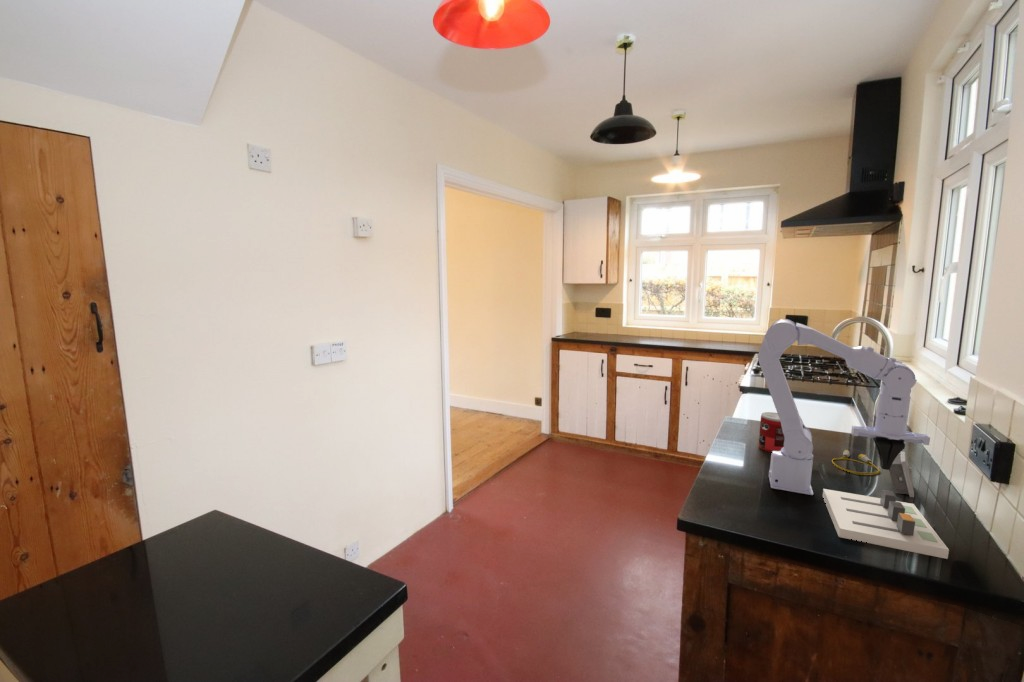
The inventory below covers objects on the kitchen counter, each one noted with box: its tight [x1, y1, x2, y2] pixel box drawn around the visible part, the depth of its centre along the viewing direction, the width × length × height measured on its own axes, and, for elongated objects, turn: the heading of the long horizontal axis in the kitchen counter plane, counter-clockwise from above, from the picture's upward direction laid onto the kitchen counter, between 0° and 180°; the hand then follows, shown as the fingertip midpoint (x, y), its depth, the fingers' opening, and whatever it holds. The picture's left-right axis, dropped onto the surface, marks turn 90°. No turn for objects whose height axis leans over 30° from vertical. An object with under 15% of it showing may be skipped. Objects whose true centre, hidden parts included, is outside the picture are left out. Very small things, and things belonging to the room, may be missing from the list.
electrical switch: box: [888, 451, 915, 498], centre depth 122 cm, size 9×5×9 cm, turn 141°
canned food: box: [758, 411, 785, 453], centre depth 148 cm, size 8×8×11 cm
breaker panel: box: [822, 488, 950, 560], centre depth 105 cm, size 18×20×5 cm
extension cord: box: [831, 449, 881, 476], centre depth 137 cm, size 12×16×2 cm
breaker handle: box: [897, 513, 915, 536], centre depth 98 cm, size 2×3×3 cm, turn 155°
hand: (884, 468), depth 112 cm, fingers closed
